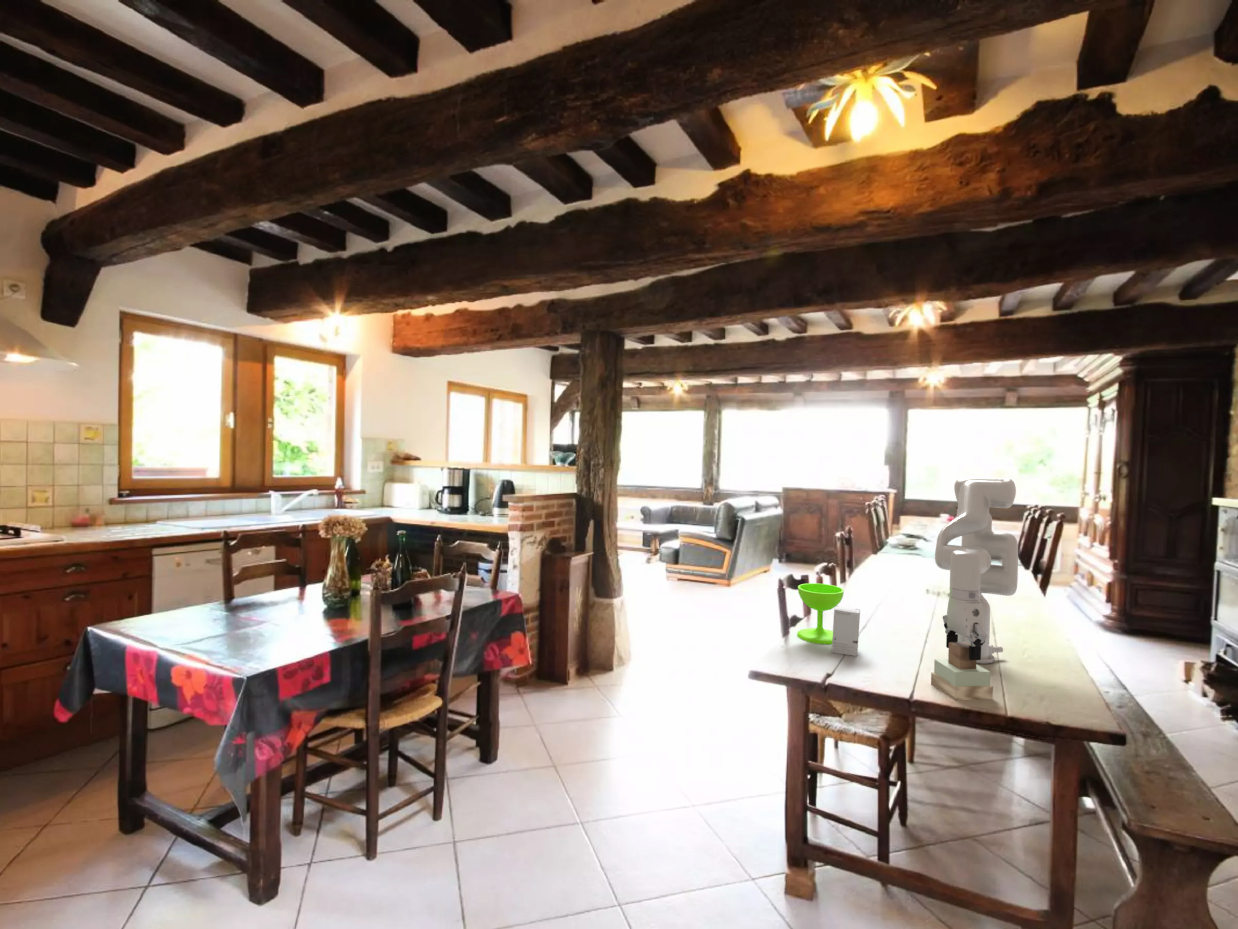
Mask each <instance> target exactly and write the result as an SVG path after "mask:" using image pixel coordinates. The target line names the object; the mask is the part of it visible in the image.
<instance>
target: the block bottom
mask: <svg viewBox="0 0 1238 929" xmlns="http://www.w3.org/2000/svg"><path fill="white" fill-rule="evenodd" d="M931 685H932V686H933V687H934V688H936V689H938V690H939V691H941V692H942V693H943V694H945V695H947V696H949V697H950V698H951V699H952V700H955V701H969V700H970V701H974V700H993V698H994V697H993V696H994V695H993V694H994V686H993V685H991V684H990V686H958V687H955V686H953V685H952V684H950V683H949V682H947V681H946V680H944V679H943V678H941V677H940V676H938V675H937V674H935V673H934V671H933V672H930V686H931Z"/></svg>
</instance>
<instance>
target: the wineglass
mask: <svg viewBox="0 0 1238 929" xmlns="http://www.w3.org/2000/svg"><path fill="white" fill-rule="evenodd" d="M797 591H798V592H797V593H798V594H799V597H800V599H801V600H802V602H803V603H804V604H805V605H806V606H807V607H809V608H810V609H812V610H815V611H817V613H816V614H817V615H816V616H817V617H816V618H817V620H816V621H817V622H816V627H811V628H809V627H807V628H802V629H800V630H799V631H798V632H797V634H796V636H797V638H799V639H800V640H802V641H804V642H808V643H812V644H818V645H832V639H833V630H829V629H825V628H824V627H823V626H824V624H823V623H824V619H823V618H824V612H825V611H830V610H832V609H835V606H838V605H839V604H840V603H841V601H842V599H843V597H844V591H845V589H844V588H842V587H840V586H838V585H833V584H826V583H819V582H818V583H814V582H813V583H812V582H811V583H808V582H807V583H802V584H799V585H797Z"/></svg>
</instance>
